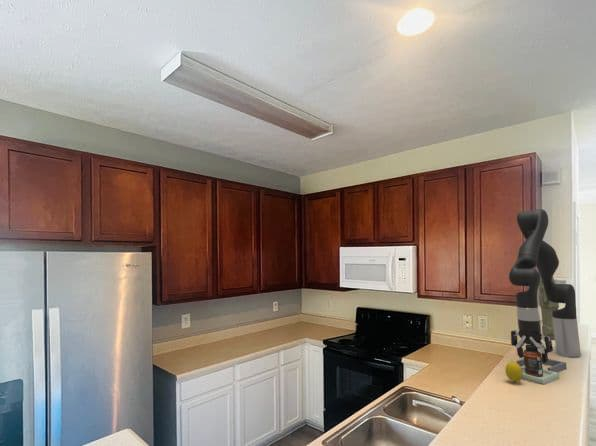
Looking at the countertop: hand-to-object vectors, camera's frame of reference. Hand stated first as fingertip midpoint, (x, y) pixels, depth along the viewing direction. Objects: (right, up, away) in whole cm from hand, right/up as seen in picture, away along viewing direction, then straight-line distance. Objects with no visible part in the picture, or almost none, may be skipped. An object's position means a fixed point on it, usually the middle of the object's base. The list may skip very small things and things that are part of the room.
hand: (532, 360), depth 136 cm
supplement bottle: (0, -6, -1) cm, 6 cm away
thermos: (+50, -11, +56) cm, 76 cm away
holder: (+10, -7, +10) cm, 16 cm away
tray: (0, -7, -1) cm, 6 cm away
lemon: (-11, -7, -6) cm, 14 cm away
